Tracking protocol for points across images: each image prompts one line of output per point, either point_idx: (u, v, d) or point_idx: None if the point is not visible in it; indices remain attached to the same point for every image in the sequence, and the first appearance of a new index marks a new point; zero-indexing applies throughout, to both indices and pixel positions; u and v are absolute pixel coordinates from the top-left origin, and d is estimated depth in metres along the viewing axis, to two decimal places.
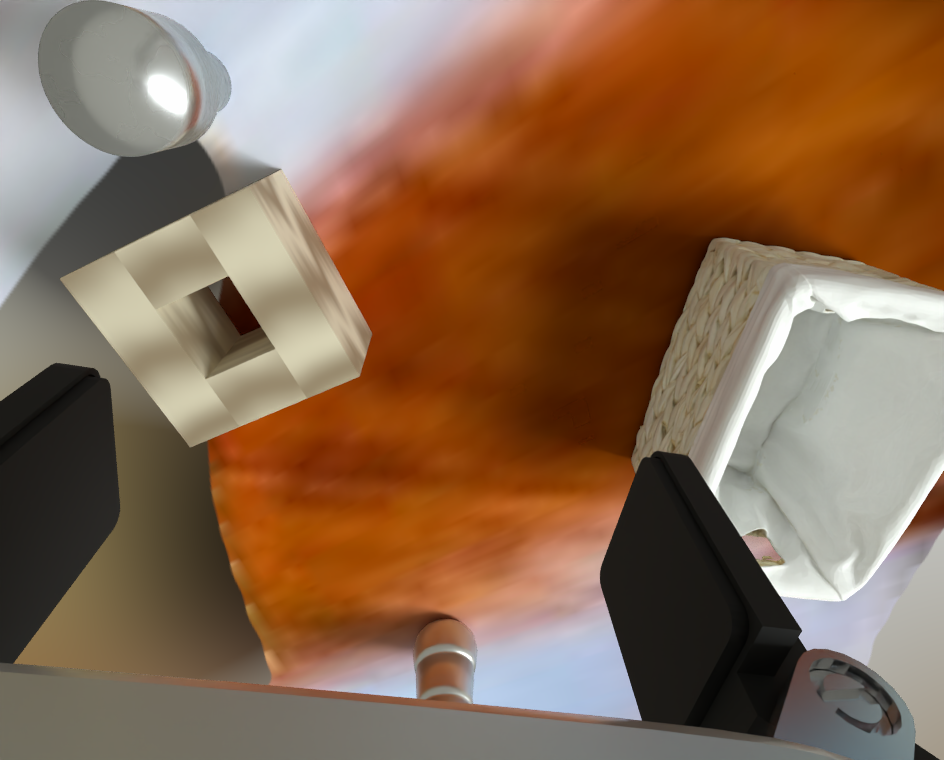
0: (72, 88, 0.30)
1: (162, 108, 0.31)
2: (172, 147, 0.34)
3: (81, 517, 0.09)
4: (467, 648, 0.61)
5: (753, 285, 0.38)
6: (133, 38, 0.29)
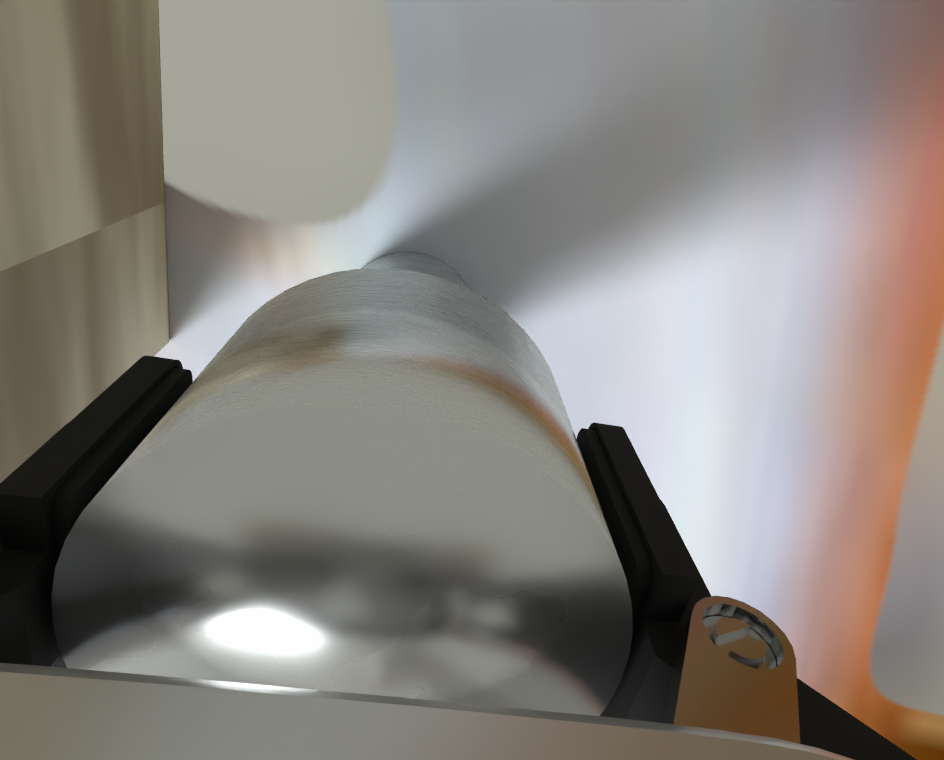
0: (420, 535, 0.07)
1: None
2: None
3: None
4: None
5: None
6: None
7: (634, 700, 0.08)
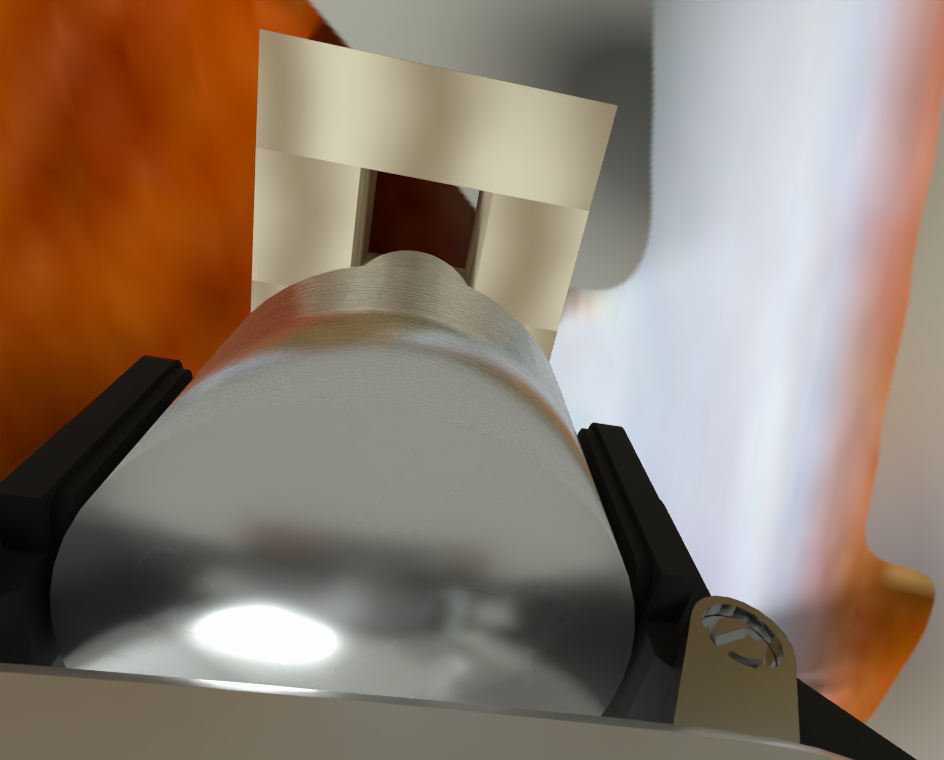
0: (422, 534, 0.07)
1: None
2: None
3: None
4: None
5: None
6: None
7: (634, 700, 0.08)
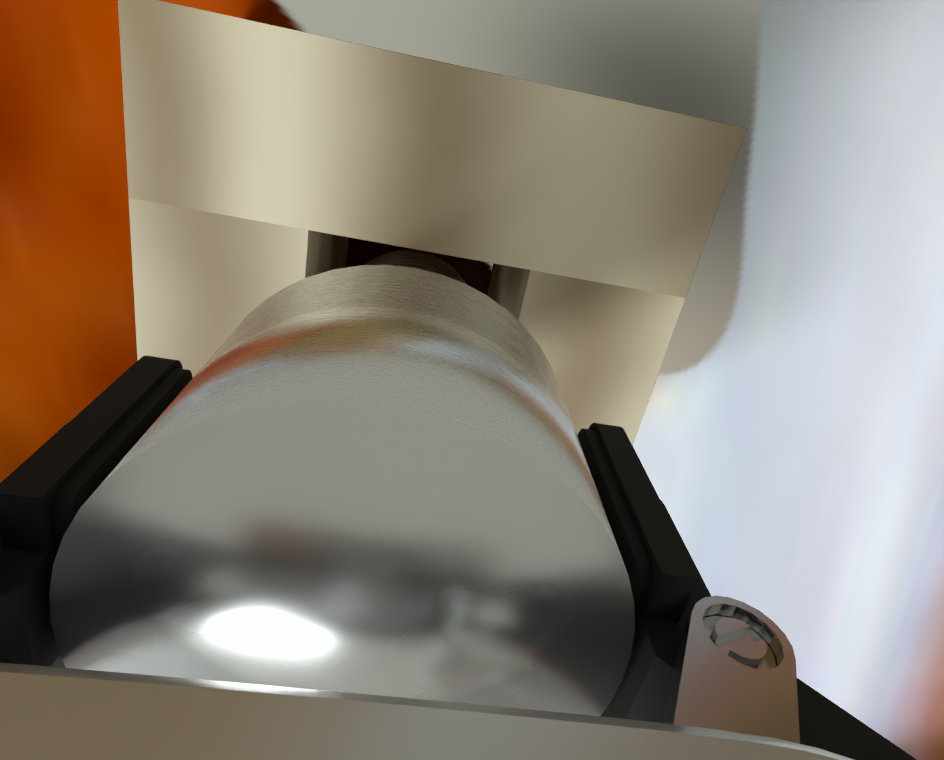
0: (422, 533, 0.07)
1: None
2: None
3: None
4: None
5: None
6: None
7: (634, 700, 0.08)
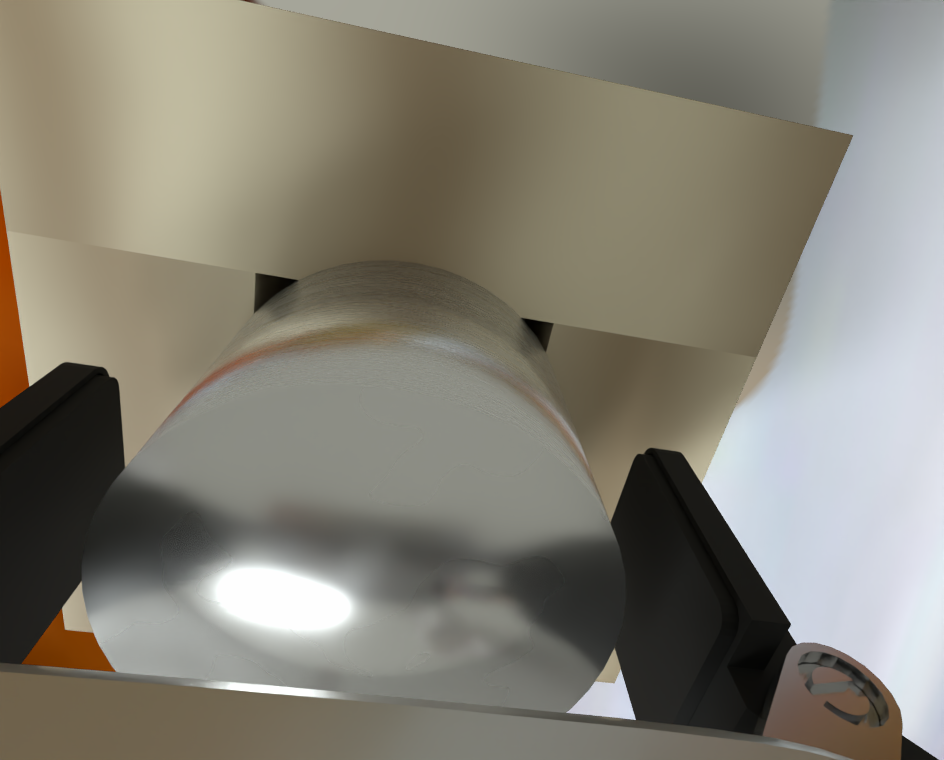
0: (428, 507, 0.07)
1: None
2: None
3: (90, 514, 0.09)
4: None
5: None
6: None
7: None
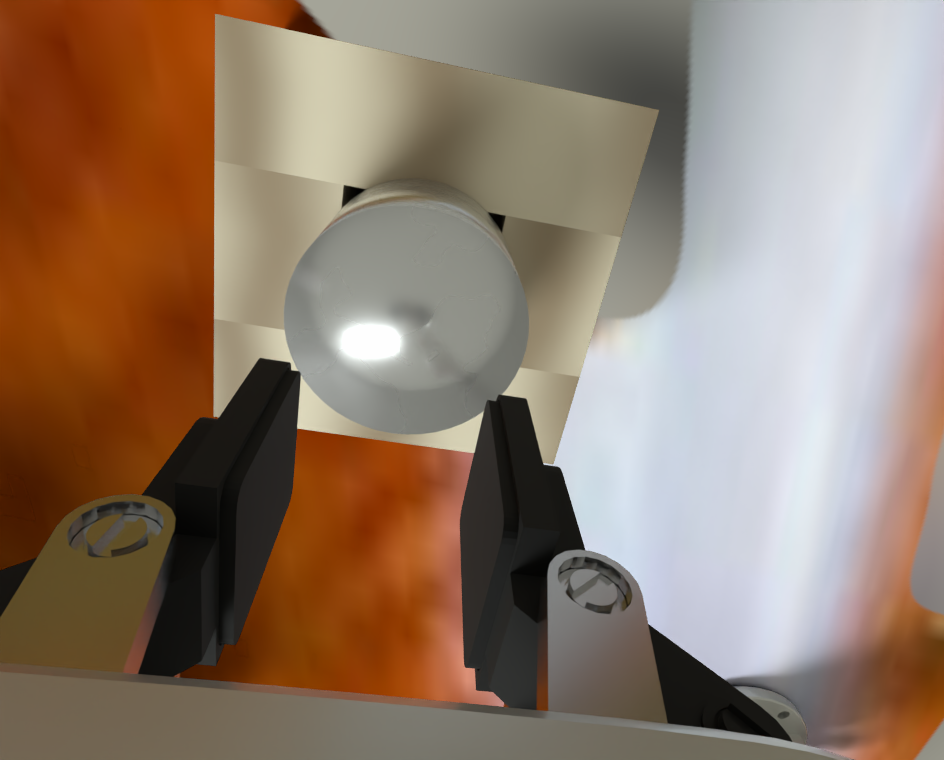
0: (438, 266, 0.16)
1: (334, 367, 0.18)
2: None
3: (280, 491, 0.11)
4: None
5: None
6: (437, 400, 0.18)
7: (500, 650, 0.08)
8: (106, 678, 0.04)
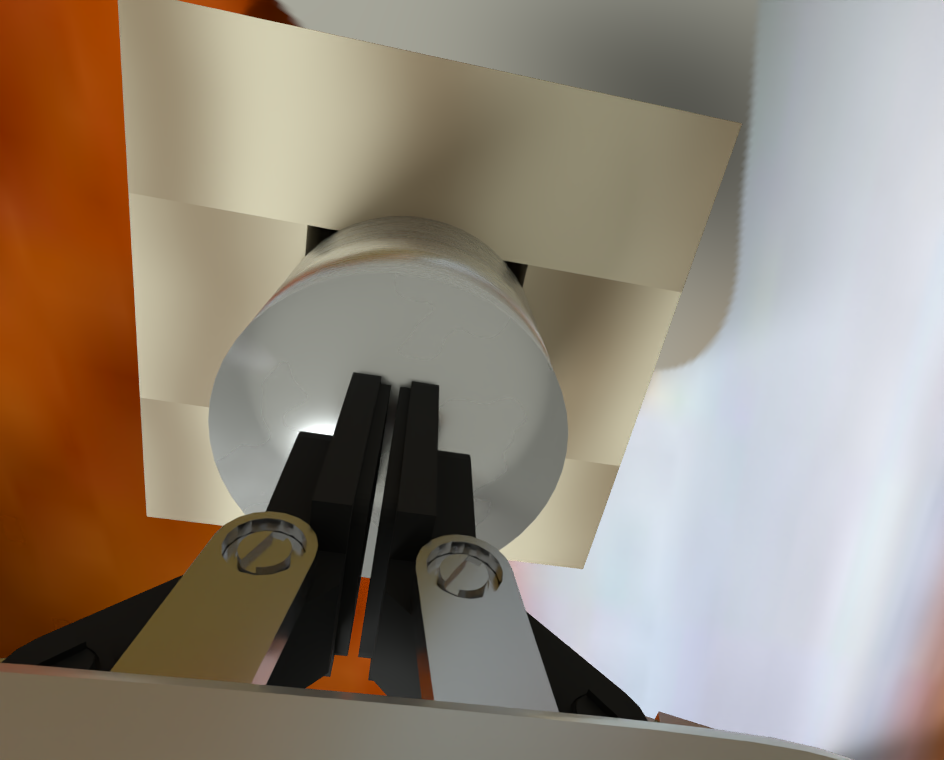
0: (436, 359, 0.11)
1: None
2: None
3: (372, 503, 0.11)
4: None
5: None
6: None
7: (378, 638, 0.08)
8: (106, 678, 0.04)
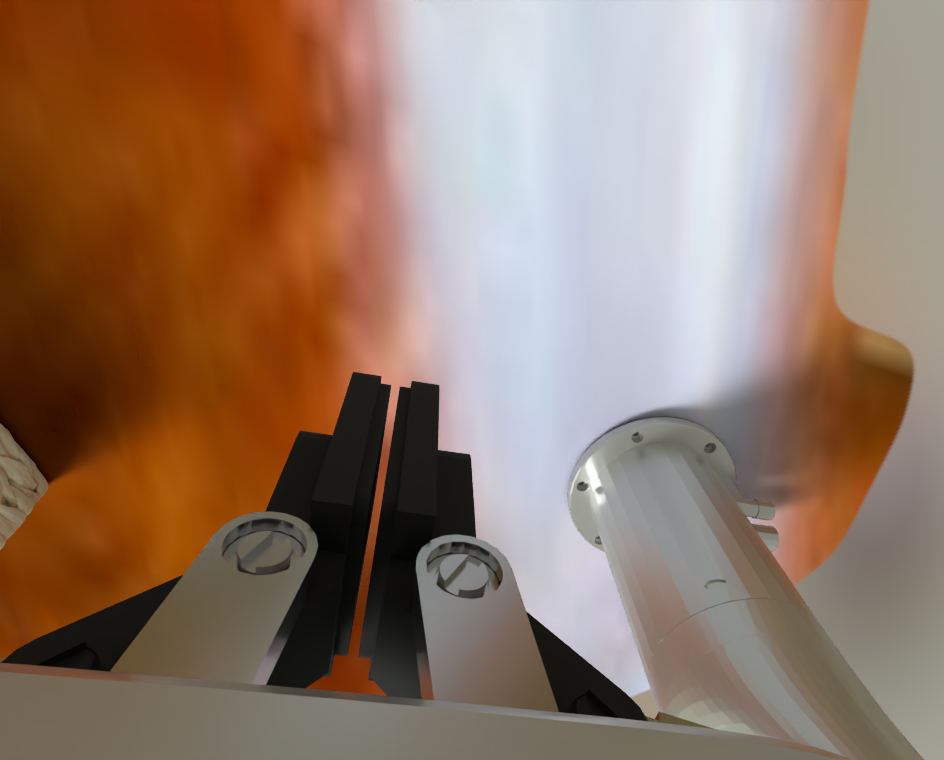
0: None
1: None
2: None
3: (372, 503, 0.11)
4: None
5: None
6: None
7: (378, 638, 0.08)
8: (106, 678, 0.04)
